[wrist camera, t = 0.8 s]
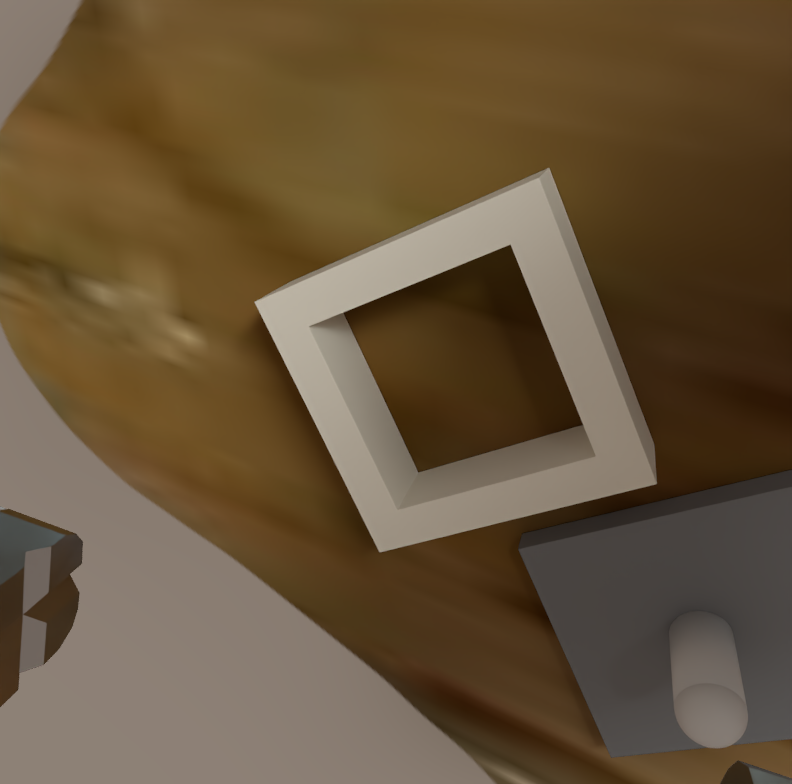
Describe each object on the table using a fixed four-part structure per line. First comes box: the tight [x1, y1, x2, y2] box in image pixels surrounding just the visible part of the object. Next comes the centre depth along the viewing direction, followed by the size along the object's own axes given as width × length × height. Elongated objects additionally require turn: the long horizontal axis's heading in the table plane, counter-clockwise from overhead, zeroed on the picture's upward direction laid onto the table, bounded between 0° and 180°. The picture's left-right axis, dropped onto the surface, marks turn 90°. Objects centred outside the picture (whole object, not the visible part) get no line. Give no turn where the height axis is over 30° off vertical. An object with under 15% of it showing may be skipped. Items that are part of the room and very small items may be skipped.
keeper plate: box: [518, 470, 792, 758], centre depth 35 cm, size 14×14×8 cm
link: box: [255, 168, 657, 552], centre depth 35 cm, size 14×14×4 cm
